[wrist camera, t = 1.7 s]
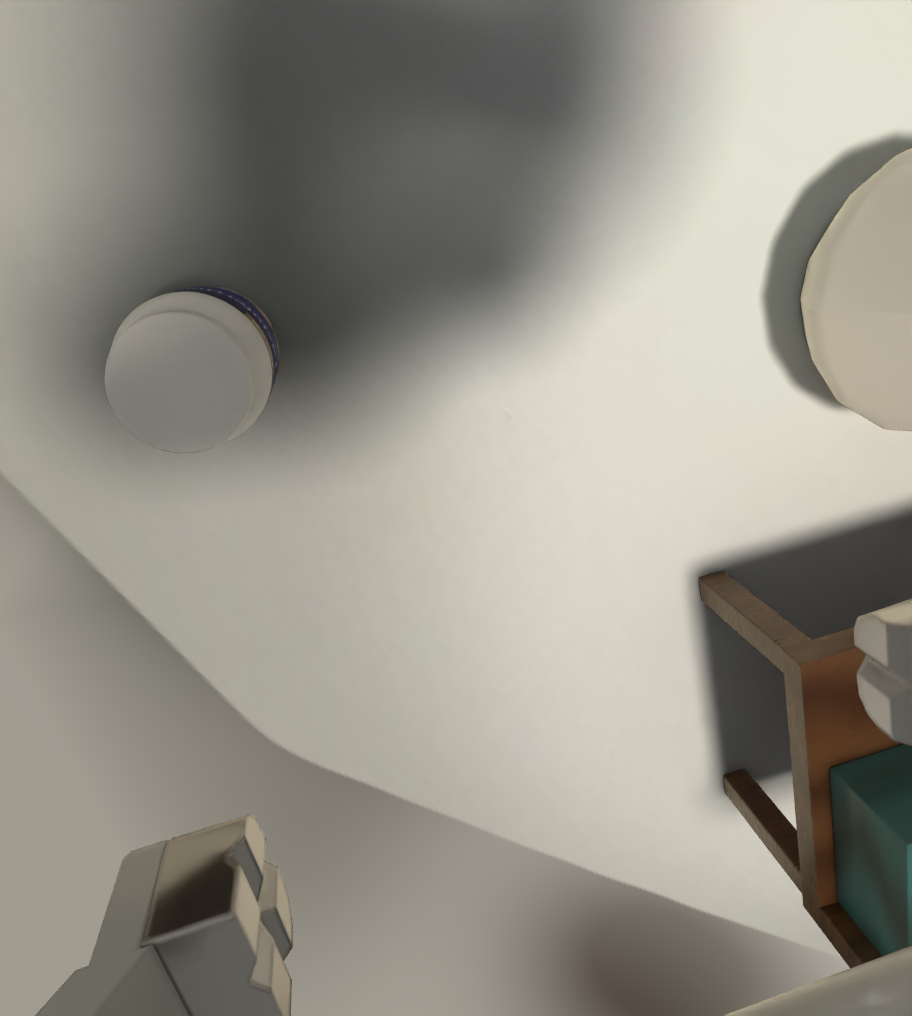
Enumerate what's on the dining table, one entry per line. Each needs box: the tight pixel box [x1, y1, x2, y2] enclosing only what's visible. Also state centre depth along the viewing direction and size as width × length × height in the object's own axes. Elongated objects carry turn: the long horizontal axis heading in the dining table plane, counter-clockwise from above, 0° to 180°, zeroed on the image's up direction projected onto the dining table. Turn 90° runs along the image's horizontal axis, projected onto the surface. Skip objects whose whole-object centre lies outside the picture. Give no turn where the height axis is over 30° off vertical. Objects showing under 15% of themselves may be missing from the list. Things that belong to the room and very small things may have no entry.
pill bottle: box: [105, 286, 279, 453], centre depth 30 cm, size 6×6×10 cm
